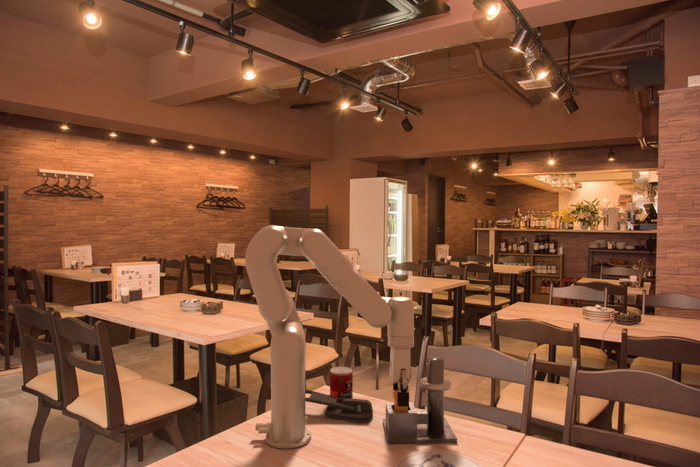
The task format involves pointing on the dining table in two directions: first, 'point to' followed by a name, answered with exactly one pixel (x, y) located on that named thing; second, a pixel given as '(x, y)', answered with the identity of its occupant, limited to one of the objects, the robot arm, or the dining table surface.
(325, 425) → the dining table surface
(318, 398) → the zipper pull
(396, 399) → the orange tapered block
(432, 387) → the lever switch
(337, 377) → the canned food
